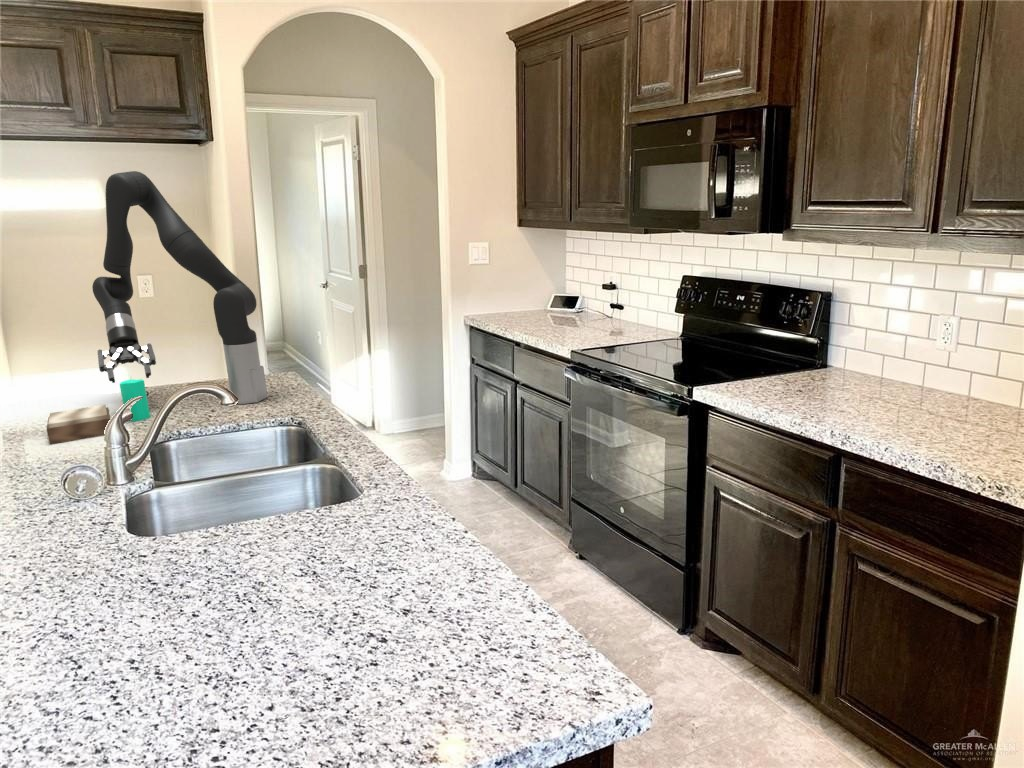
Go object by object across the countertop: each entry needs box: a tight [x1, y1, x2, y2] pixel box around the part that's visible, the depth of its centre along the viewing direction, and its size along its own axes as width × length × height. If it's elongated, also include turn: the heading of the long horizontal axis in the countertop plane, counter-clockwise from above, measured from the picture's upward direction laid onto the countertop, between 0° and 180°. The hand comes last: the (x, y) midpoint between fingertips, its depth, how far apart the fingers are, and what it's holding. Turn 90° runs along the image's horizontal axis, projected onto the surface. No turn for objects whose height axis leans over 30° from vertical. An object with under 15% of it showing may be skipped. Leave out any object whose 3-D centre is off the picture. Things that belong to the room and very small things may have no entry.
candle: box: [119, 375, 151, 422], centre depth 206 cm, size 6×6×12 cm
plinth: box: [46, 404, 111, 445], centre depth 196 cm, size 14×14×5 cm
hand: (130, 378), depth 208 cm, fingers open, 8 cm apart
